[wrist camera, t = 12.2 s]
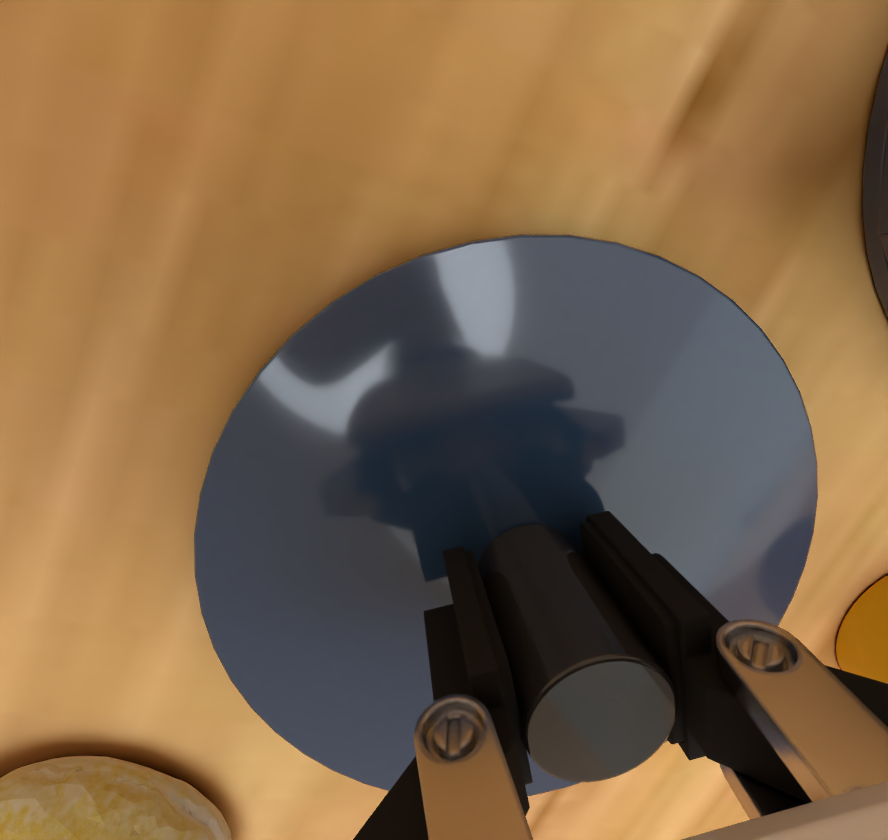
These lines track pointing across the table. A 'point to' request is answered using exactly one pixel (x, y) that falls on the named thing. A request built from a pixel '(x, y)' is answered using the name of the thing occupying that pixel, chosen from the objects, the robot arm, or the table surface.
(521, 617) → the lid
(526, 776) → the robot arm
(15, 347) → the table surface
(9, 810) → the bread roll
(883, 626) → the yellow cylinder with peg
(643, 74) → the table surface
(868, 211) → the pan
